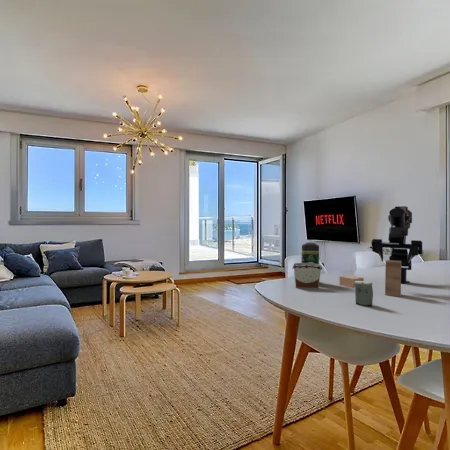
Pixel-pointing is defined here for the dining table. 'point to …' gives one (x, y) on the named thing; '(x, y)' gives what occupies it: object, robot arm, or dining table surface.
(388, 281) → the walnut block
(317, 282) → the food container
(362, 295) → the grey-green rounded block
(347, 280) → the terracotta block
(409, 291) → the dining table surface
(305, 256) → the coffee jar
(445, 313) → the dining table surface
